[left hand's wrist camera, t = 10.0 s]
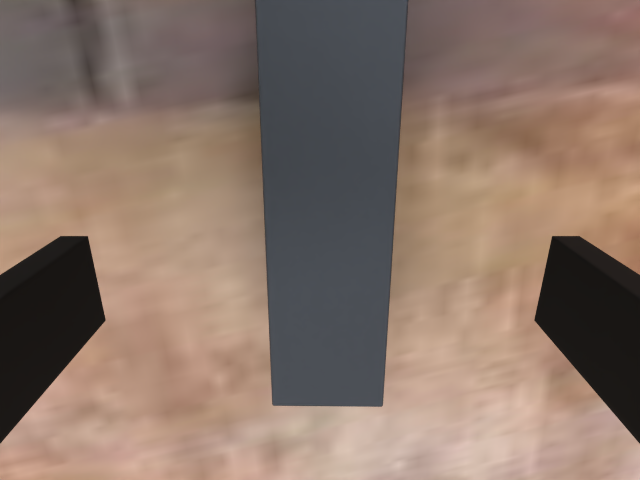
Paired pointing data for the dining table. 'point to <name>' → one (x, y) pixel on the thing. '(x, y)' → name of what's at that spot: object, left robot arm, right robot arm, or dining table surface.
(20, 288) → the left robot arm
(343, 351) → the bar
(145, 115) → the dining table surface
